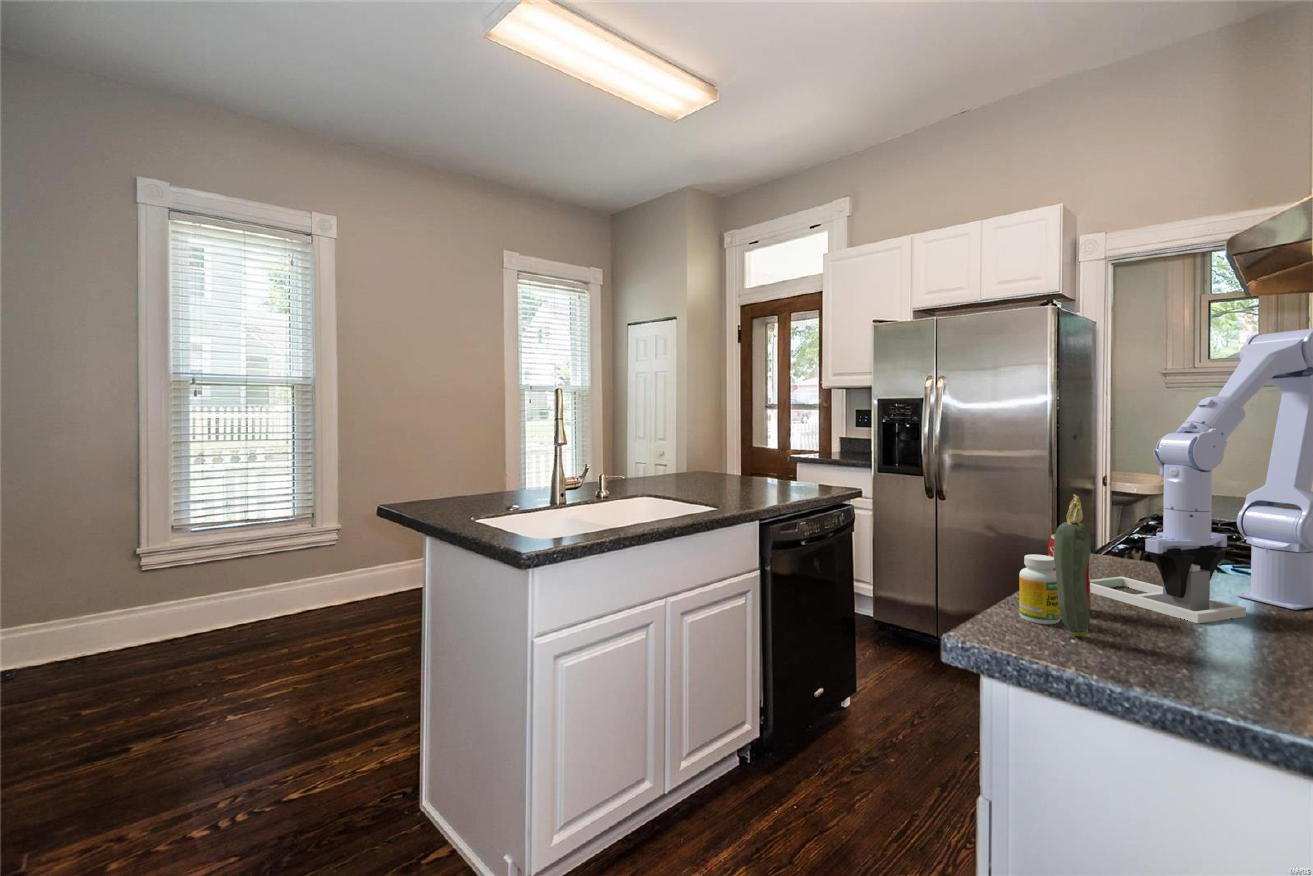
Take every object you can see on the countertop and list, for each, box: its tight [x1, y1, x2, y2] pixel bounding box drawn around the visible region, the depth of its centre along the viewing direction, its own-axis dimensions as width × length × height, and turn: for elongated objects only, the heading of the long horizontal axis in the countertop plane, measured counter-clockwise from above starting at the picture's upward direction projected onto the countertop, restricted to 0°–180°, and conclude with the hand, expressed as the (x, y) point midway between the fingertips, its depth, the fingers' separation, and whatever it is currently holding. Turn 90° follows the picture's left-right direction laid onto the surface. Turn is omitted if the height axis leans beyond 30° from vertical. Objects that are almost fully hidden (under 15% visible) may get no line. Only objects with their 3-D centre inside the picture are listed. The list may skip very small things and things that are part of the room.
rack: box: [1090, 576, 1247, 624], centre depth 101 cm, size 10×19×1 cm, turn 15°
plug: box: [1162, 564, 1211, 611], centre depth 96 cm, size 4×4×7 cm
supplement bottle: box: [1018, 553, 1061, 625], centre depth 93 cm, size 5×5×10 cm
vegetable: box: [1054, 494, 1092, 638], centre depth 86 cm, size 4×4×20 cm
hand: (1185, 594), depth 96 cm, fingers closed on plug, 4 cm apart
